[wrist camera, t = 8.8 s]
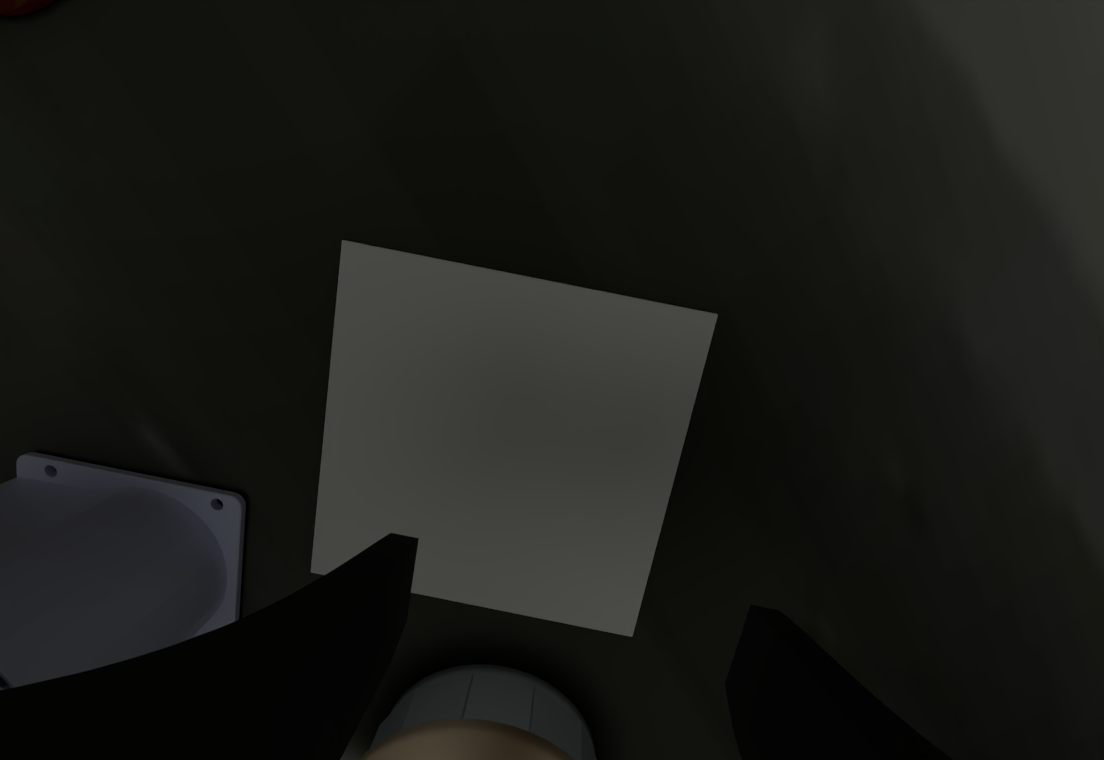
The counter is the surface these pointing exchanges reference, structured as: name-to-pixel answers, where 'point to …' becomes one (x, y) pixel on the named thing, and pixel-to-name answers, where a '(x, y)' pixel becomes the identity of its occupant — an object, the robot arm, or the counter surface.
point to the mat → (504, 432)
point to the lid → (464, 743)
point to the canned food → (21, 6)
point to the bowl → (493, 705)
